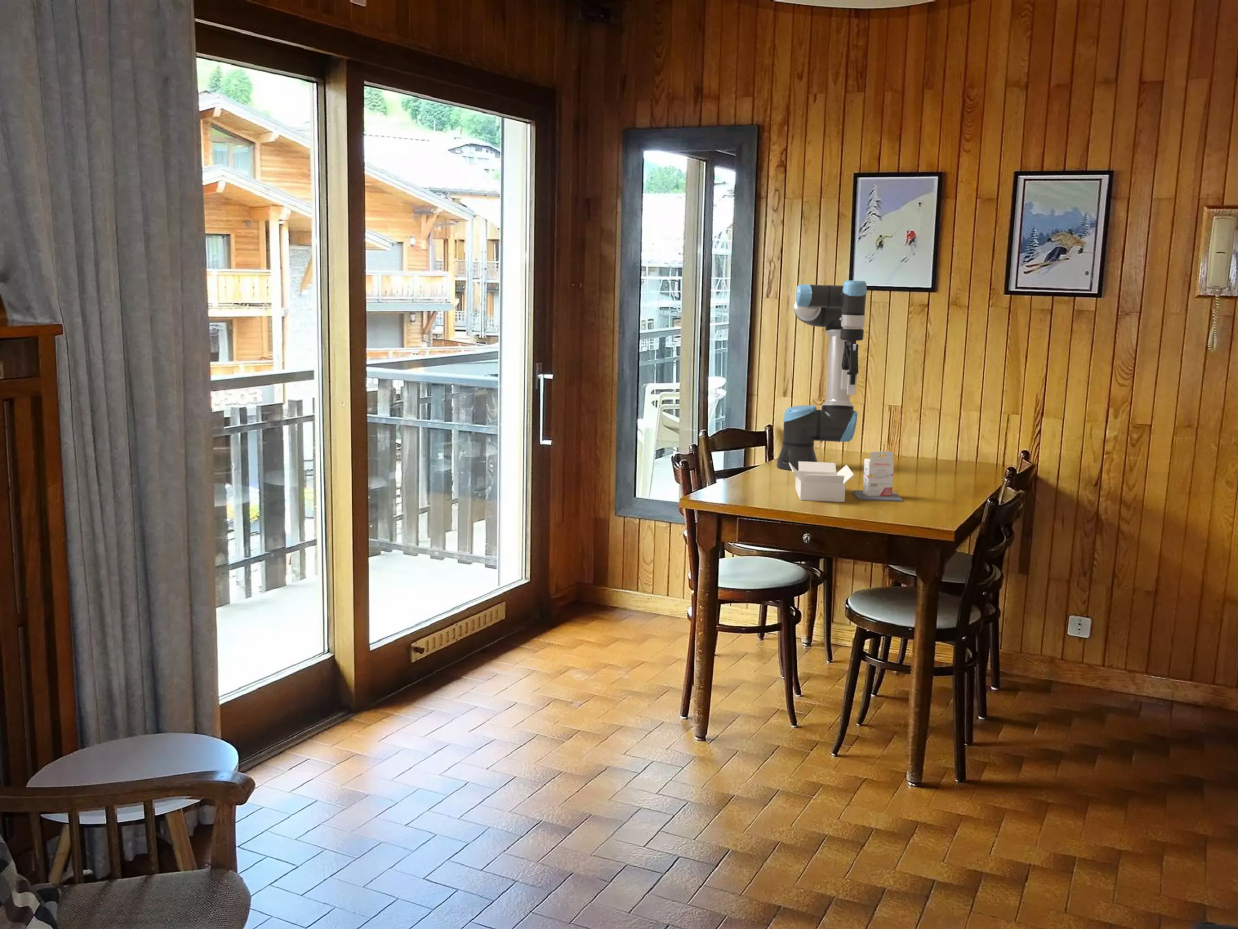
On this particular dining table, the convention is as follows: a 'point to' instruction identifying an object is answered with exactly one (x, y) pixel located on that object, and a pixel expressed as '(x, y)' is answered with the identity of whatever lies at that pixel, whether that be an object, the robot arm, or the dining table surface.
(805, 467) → the carton
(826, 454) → the dining table surface
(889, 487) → the ink cartridge box
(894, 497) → the mat
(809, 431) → the robot arm
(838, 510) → the dining table surface
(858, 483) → the dining table surface
